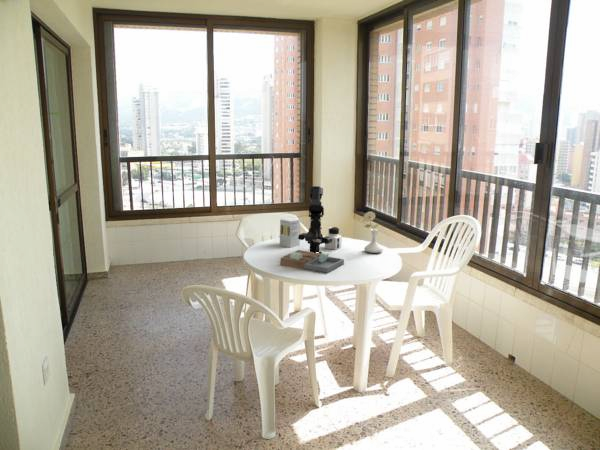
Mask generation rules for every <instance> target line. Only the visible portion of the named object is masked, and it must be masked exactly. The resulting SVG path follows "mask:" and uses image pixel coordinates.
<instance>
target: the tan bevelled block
mask: <svg viewBox="0 0 600 450" xmlns="http://www.w3.org/2000/svg"><path fill="white" fill-rule="evenodd" d="M294 252H298V253H303V258H301V259H299V260H297V259H291V258H290V254H291V253H288V254H286V255H284V256H281V257H280V266H283V267H284V266H285V267H290V268H294V269H295V268H296V269H301V270H305V269H304V264H305V263H307V262H309V261H311V260H313V259H315V258H317V257H319V256H320V255H321V253H313V252H309V250H308V251H307V250H302V249H301V250H300V249H297V250H295V251H293V252H292V253H294Z"/></svg>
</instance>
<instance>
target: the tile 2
mask: <svg viewBox="0 0 600 450" xmlns="http://www.w3.org/2000/svg"><path fill="white" fill-rule="evenodd" d="M320 254H321V255H320V258H319V260H318V261H320V262H321V263H323V262H325V261H326V260H327V258H328V257H329V256H330V252H327V251H323V252H322V251H321V253H320Z"/></svg>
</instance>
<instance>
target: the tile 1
mask: <svg viewBox="0 0 600 450" xmlns="http://www.w3.org/2000/svg"><path fill="white" fill-rule="evenodd" d="M293 252H294V253H293ZM293 252H291V253H289V254H290V258H291V259H297V260H299V259H301V258H303V253H298V252H295V251H293Z"/></svg>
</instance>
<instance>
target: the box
mask: <svg viewBox="0 0 600 450" xmlns="http://www.w3.org/2000/svg"><path fill="white" fill-rule="evenodd" d="M319 258H320V256H319V257H317V258H315V259H313V260H311V261H309V262H307V263H305V264H304V269H303V270H306V271H311V272H312V271H313V272H316V273H317V272H318V273H323V274H329V273H332V272H334V271H335V270H337V269H338V268H340V267H342V266H344V264H345V259H344V258H339V257H334V256H333V257H332V256H328V258H327V260H326V261H325V262H323V263H321V262H320V261H318V260H319Z"/></svg>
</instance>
